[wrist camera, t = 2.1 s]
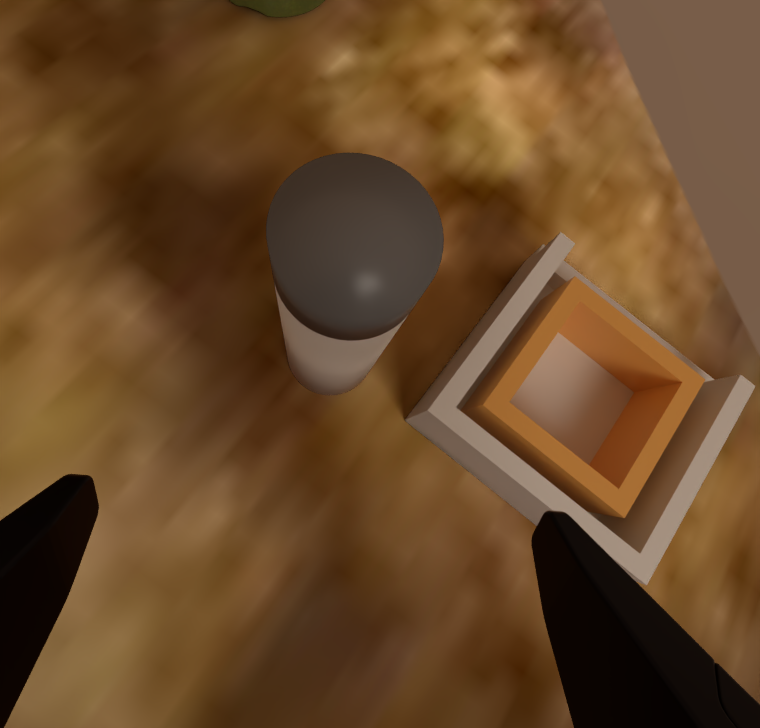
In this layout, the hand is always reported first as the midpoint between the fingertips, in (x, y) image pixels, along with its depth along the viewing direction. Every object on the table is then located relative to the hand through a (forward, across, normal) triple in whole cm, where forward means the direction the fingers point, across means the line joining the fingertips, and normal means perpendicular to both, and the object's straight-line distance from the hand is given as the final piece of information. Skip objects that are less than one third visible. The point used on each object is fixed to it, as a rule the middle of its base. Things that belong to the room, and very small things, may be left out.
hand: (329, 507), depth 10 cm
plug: (+13, 0, +5) cm, 14 cm away
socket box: (+12, -11, +6) cm, 17 cm away
